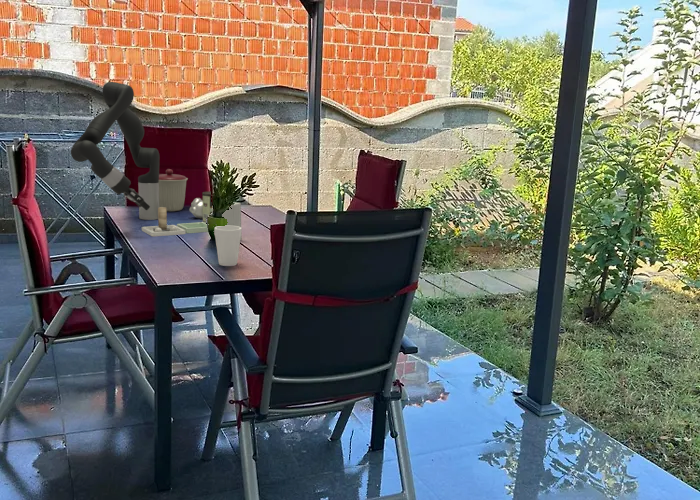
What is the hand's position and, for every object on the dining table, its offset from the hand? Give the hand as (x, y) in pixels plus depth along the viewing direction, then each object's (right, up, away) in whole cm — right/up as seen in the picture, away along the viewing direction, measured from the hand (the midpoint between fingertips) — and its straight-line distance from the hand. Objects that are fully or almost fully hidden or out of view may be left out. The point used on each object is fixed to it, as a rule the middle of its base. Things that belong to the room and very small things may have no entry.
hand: (145, 207), depth 272 cm
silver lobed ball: (+12, -3, +47) cm, 49 cm away
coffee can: (+20, -5, +39) cm, 44 cm away
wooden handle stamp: (+5, -10, +7) cm, 13 cm away
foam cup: (+41, -23, -38) cm, 61 cm away
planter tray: (+17, -10, +14) cm, 25 cm away
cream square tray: (+6, -11, +6) cm, 14 cm away
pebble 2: (+11, -9, +4) cm, 15 cm away
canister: (-8, +3, +67) cm, 67 cm away
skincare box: (+35, -14, +1) cm, 37 cm away
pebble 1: (+5, -10, +1) cm, 11 cm away
